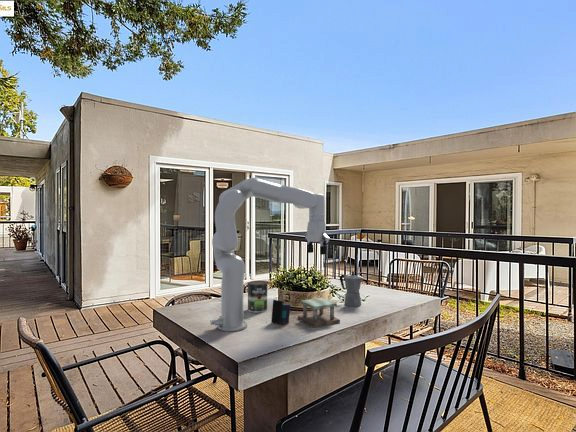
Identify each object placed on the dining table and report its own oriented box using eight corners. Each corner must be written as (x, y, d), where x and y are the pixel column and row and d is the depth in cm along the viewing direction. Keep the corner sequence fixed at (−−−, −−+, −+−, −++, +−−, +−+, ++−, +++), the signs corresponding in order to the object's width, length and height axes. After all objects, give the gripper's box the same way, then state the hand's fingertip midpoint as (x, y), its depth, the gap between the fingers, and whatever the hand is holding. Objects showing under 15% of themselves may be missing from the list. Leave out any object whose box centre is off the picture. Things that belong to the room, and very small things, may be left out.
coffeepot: (368, 305, 186) (368, 272, 186) (358, 308, 179) (357, 274, 179) (345, 300, 197) (344, 268, 197) (334, 303, 190) (334, 270, 190)
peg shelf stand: (313, 327, 149) (313, 307, 149) (297, 318, 161) (297, 300, 161) (339, 322, 155) (339, 303, 155) (322, 314, 168) (322, 297, 168)
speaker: (277, 325, 151) (279, 301, 152) (271, 322, 155) (272, 299, 156) (291, 324, 155) (293, 301, 156) (284, 321, 160) (286, 299, 161)
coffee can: (269, 311, 173) (269, 284, 173) (249, 313, 170) (249, 285, 170) (265, 306, 183) (265, 280, 183) (246, 308, 180) (246, 281, 180)
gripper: (300, 218, 174) (300, 252, 174) (322, 219, 160) (322, 255, 160) (311, 218, 178) (311, 251, 178) (334, 218, 164) (334, 254, 164)
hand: (316, 253), depth 169 cm, fingers open, 9 cm apart
